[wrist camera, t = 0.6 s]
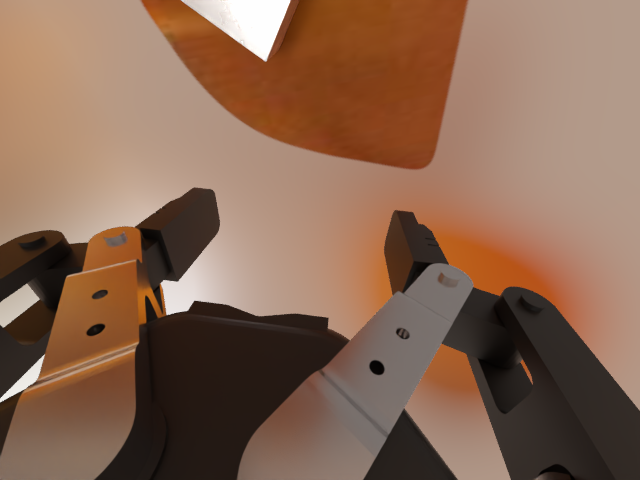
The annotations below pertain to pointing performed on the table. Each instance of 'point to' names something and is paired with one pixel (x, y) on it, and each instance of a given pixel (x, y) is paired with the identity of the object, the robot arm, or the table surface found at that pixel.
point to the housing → (250, 21)
